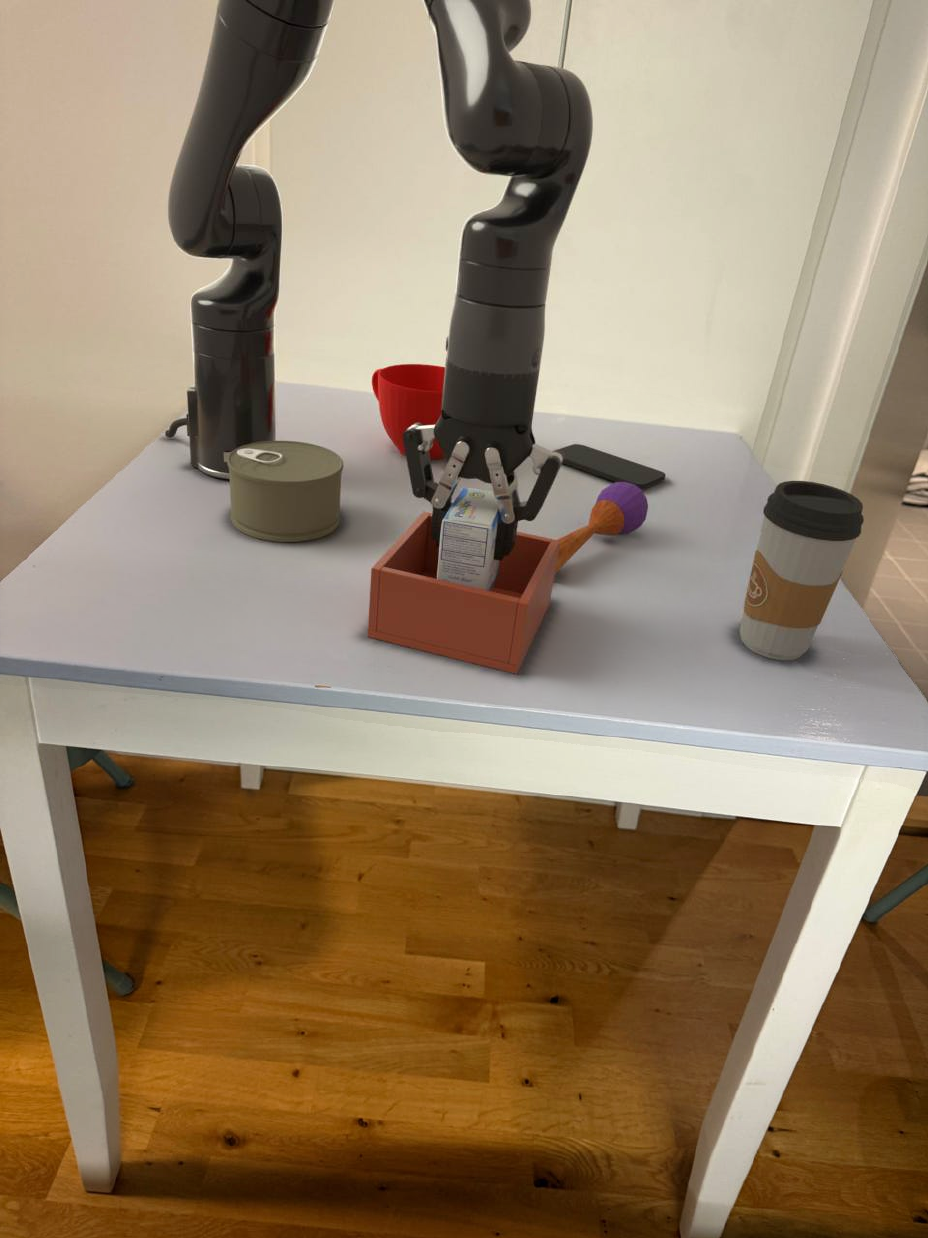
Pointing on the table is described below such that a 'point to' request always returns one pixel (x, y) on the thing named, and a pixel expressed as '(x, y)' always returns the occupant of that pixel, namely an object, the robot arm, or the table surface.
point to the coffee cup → (797, 566)
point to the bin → (461, 600)
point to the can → (285, 490)
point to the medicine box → (470, 540)
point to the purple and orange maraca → (607, 518)
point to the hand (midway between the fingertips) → (471, 549)
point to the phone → (611, 466)
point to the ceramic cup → (409, 399)
